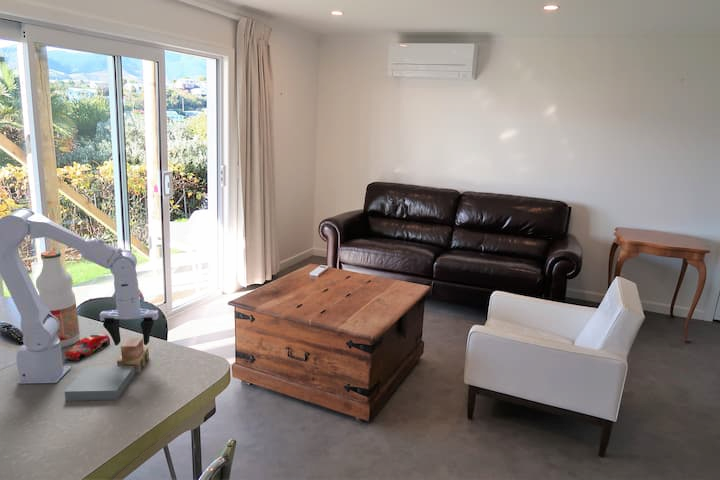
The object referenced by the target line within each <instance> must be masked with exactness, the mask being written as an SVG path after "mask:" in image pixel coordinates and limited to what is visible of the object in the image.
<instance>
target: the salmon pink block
mask: <svg viewBox="0 0 720 480" xmlns="http://www.w3.org/2000/svg"><path fill="white" fill-rule="evenodd" d="M143 347H144V340H143V337H128V338H126V339H125V340H124V342H123V343H122V345H121V346H120V354H121V355H122V358H138V356H139V355H140V354H141V352H142V351H143V350H144V348H143Z"/></svg>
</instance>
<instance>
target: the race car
mask: <svg viewBox="0 0 720 480" xmlns="http://www.w3.org/2000/svg"><path fill="white" fill-rule="evenodd" d="M110 343H111V338H110V336H109V335H108V334H104V333H97V334H91V335H87V336H85V337H84V338H82V339H79V341H78V342H76V343H75V344H74V345H72V347H70V348H69V349H68V350H66V352H65V353H64V354H65V359H66V360H68V361H78V360H79V361H82V360H83V359H85V358H86V357H88V356H90V355H92V354H94V353H96V352H97V351H99V350H101V349H104V348H106V347H107V346H108V345H109V344H110Z"/></svg>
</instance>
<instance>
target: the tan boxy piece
mask: <svg viewBox="0 0 720 480" xmlns="http://www.w3.org/2000/svg"><path fill="white" fill-rule="evenodd" d="M143 348H144V350H143V351H142V352H141V354H140V355H139V356H138V358H122V354H121V355H120V357H119V358H118V359H117V360H116V366H134V368H135V374H136V373H137V374H138V373H140V372H141V371H142V367H144V366H145V365H146V362H148V361H149V359H150V354H149V352H150V351H149V346H143Z"/></svg>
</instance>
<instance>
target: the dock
mask: <svg viewBox="0 0 720 480" xmlns="http://www.w3.org/2000/svg"><path fill="white" fill-rule="evenodd" d="M135 375H136V373H135V368H134V366H117V365H115V366H114V365H110V366H109V365H108V366H105V365H104V366H101V365H100V366H86V367H85V368H84V369H83V371H82V372H81V373H80V374H79V375H78V376H77V377H76V378H75V380H73V382H71V383H70V385H69V386H68V387H67V388H65V390H64V399H65V401H66V402H67V401H68V402H71V401H73V402H74V401H76V402H77V401H114V400H115V401H116V400H119V398H120V397H121V395H122V394H123V392H125V390H126V388H127V387H128V385H129V384H130V383H131V381H132V379H133V378H134V376H135Z"/></svg>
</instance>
